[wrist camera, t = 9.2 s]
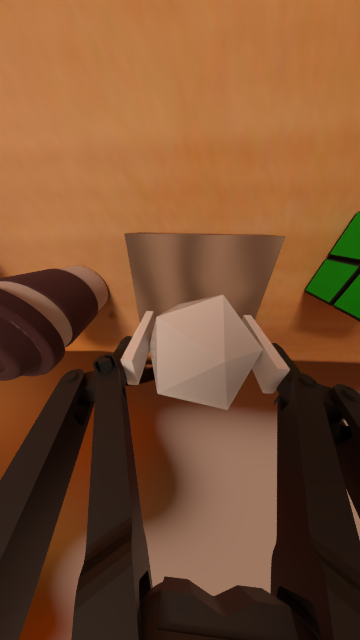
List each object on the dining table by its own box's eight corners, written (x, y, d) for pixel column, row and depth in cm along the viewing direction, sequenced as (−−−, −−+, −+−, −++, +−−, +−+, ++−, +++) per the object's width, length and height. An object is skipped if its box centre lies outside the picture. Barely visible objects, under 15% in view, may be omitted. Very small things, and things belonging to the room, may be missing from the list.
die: (210, 261, 12) (109, 315, 7) (298, 326, 10) (255, 472, 5) (183, 314, 19) (120, 363, 13) (234, 360, 17) (186, 439, 12)
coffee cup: (73, 313, 26) (-32, 389, 14) (43, 256, 21) (-175, 297, 8) (124, 313, 26) (60, 393, 13) (106, 254, 20) (-31, 295, 8)
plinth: (263, 234, 18) (285, 236, 14) (234, 333, 26) (242, 352, 22) (139, 232, 18) (124, 233, 14) (151, 329, 27) (144, 347, 23)
